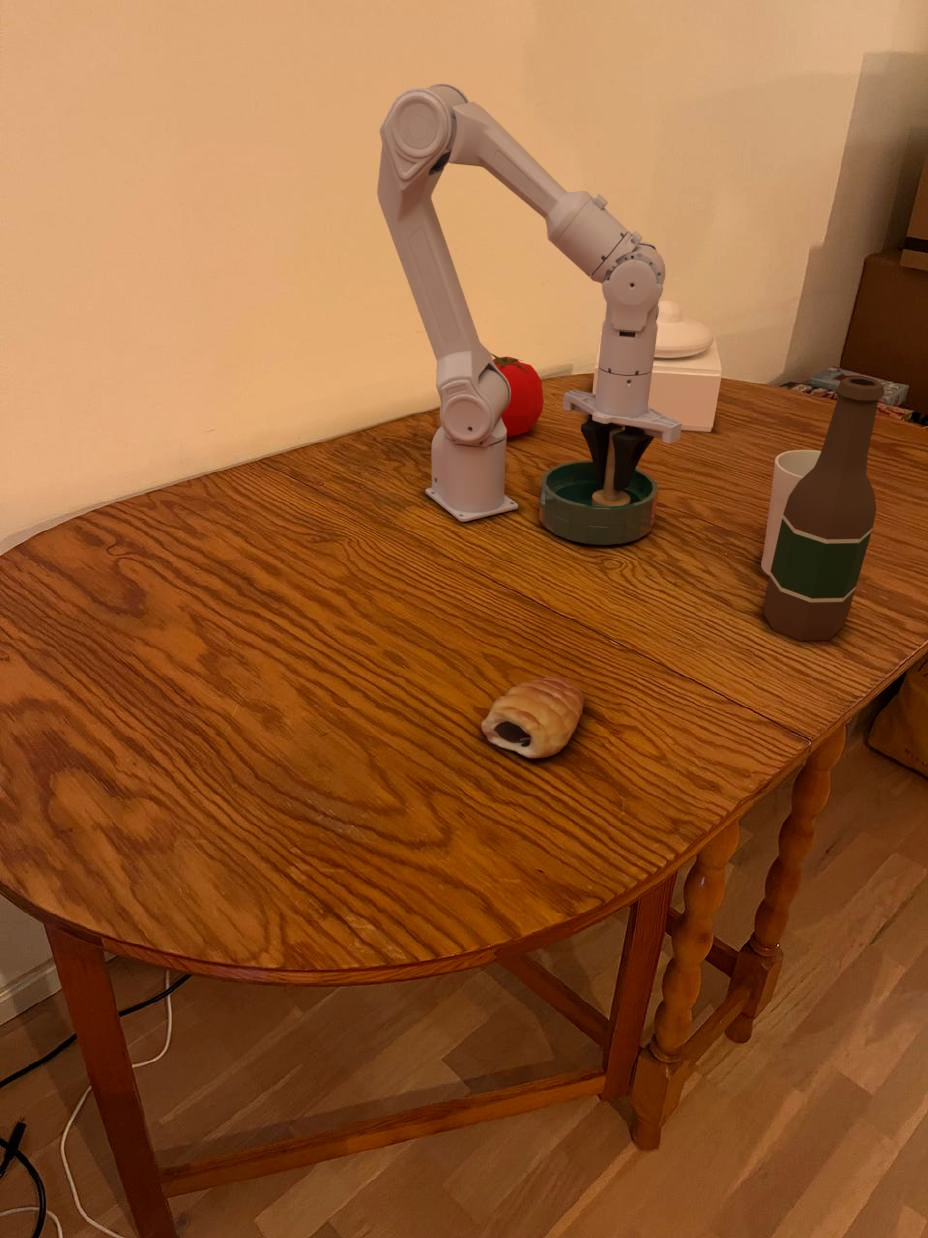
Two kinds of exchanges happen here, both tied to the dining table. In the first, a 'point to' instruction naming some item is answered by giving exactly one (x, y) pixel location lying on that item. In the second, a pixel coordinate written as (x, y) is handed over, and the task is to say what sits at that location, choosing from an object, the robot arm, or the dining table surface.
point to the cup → (784, 494)
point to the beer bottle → (827, 524)
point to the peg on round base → (610, 482)
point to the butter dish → (682, 370)
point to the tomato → (520, 395)
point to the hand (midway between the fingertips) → (612, 484)
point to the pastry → (535, 717)
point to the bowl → (594, 525)
